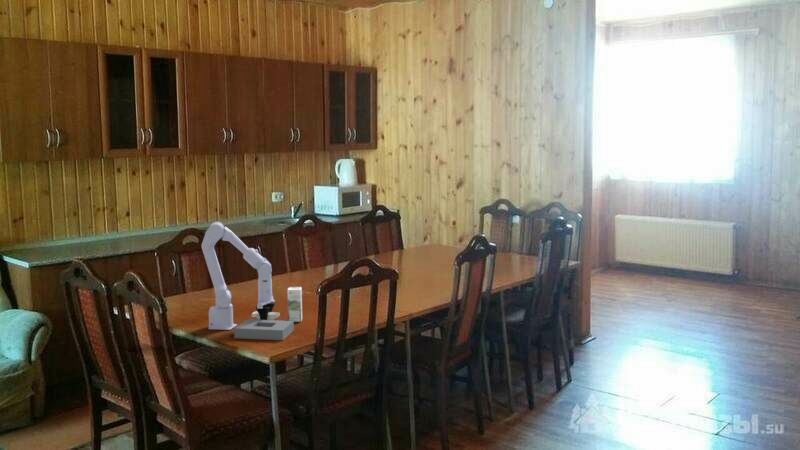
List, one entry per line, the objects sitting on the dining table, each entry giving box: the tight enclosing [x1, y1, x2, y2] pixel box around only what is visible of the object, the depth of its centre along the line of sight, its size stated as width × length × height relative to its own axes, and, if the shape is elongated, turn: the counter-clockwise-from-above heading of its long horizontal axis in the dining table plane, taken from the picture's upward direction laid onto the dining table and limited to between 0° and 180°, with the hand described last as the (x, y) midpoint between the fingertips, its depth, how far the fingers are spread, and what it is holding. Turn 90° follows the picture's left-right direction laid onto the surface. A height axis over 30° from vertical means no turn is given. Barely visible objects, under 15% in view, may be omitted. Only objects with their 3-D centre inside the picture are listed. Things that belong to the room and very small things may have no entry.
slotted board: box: [233, 318, 295, 341], centre depth 293 cm, size 20×14×4 cm
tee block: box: [251, 310, 281, 320], centre depth 306 cm, size 11×4×5 cm, turn 81°
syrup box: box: [286, 286, 303, 323], centre depth 313 cm, size 6×6×14 cm
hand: (265, 321), depth 306 cm, fingers closed on tee block, 4 cm apart
